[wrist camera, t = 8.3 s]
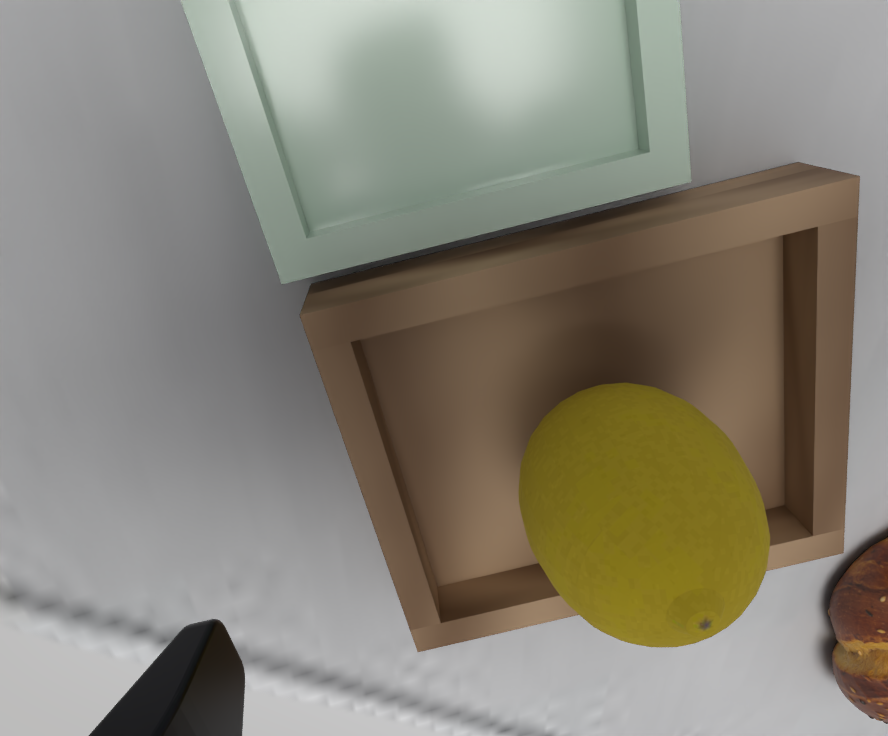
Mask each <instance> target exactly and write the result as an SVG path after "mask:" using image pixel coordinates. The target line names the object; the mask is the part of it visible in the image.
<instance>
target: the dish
mask: <svg viewBox="0 0 888 736" xmlns="http://www.w3.org/2000/svg"><path fill="white" fill-rule="evenodd" d="M181 3H182V6H183V9H184V12H185V15H186V17H187V20H188V23H189V26H190V29H191V31H192V34H193V37H194V40H195V43H196V45H197V48H198V51H199V54H200V57H201V59H202V62H203V65H204V68H205V71H206V73H207V76H208V79H209V82H210V85H211V87H212V90H213V93H214V96H215V99H216V101H217V104H218V107H219V110H220V113H221V115H222V118H223V121H224V124H225V127H226V130H227V132H228V135H229V138H230V141H231V144H232V146H233V149H234V152H235V155H236V158H237V160H238V163H239V166H240V169H241V172H242V174H243V177H244V180H245V183H246V186H247V188H248V191H249V194H250V197H251V200H252V202H253V205H254V208H255V211H256V214H257V216H258V219H259V222H260V225H261V228H262V231H263V233H264V236H265V239H266V242H267V245H268V247H269V250H270V253H271V256H272V259H273V261H274V264H275V267H276V270H277V273H278V275H279V278H280V281H281V284H286V283H290V282H294V281H298V280H302V279H306V278H310V277H314V276H318V275H322V274H326V273H330V272H334V271H338V270H342V269H346V268H350V267H354V266H358V265H362V264H366V263H370V262H374V261H378V260H382V259H386V258H390V257H394V256H398V255H402V254H406V253H410V252H414V251H418V250H422V249H426V248H430V247H434V246H438V245H442V244H446V243H450V242H454V241H458V240H462V239H466V238H470V237H474V236H478V235H482V234H486V233H490V232H494V231H498V230H502V229H506V228H510V227H514V226H518V225H522V224H526V223H530V222H534V221H538V220H542V219H546V218H550V217H554V216H558V215H562V214H566V213H570V212H574V211H578V210H582V209H586V208H590V207H594V206H598V205H602V204H606V203H610V202H614V201H618V200H622V199H626V198H629V197H633V196H637V195H641V194H645V193H649V192H653V191H657V190H661V189H665V188H669V187H673V186H677V185H681V184H685V183H689V182H691V167H690V152H689V137H688V122H687V106H686V91H685V76H684V61H683V46H682V31H681V15H680V0H181Z"/></svg>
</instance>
